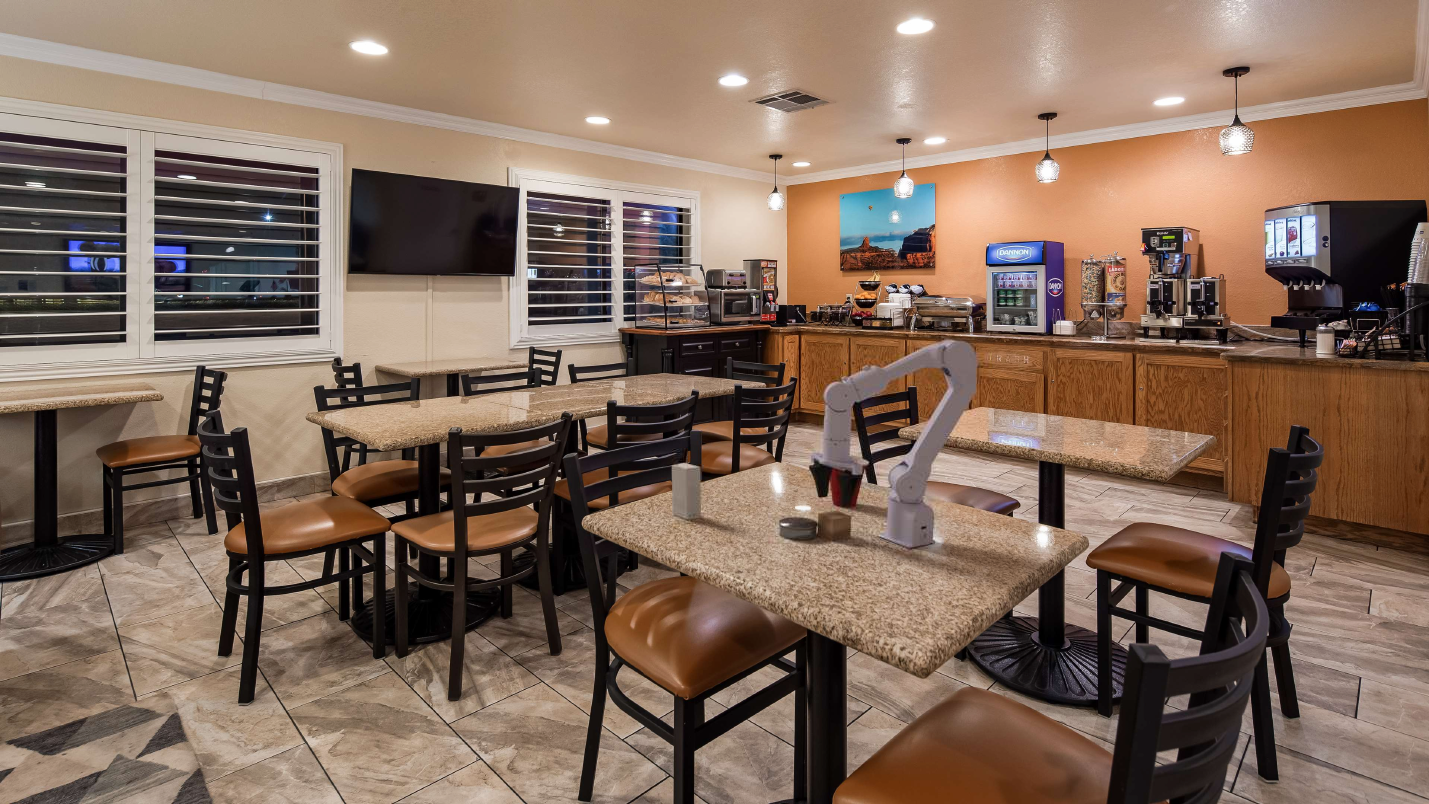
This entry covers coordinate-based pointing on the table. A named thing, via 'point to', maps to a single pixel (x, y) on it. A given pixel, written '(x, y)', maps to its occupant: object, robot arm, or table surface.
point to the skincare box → (686, 491)
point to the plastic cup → (836, 487)
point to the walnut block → (834, 525)
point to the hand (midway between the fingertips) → (834, 501)
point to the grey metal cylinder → (798, 528)
